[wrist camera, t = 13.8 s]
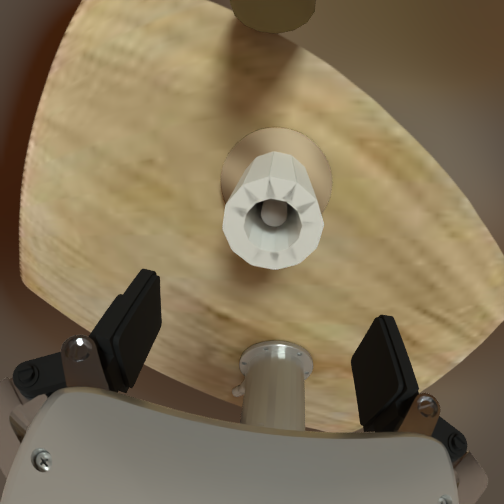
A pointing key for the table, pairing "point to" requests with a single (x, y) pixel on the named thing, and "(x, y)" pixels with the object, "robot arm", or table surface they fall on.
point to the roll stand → (283, 143)
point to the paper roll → (250, 206)
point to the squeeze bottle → (273, 14)
